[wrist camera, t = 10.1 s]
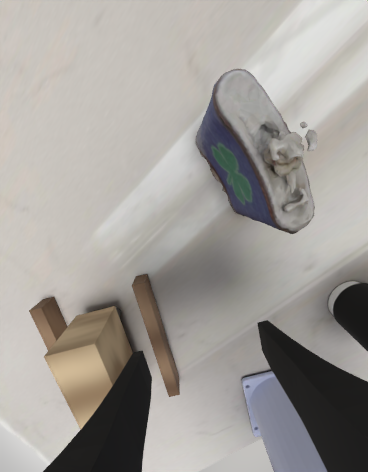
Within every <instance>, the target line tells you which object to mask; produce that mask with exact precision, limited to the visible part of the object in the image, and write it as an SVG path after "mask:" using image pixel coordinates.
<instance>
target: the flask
mask: <svg viewBox="0 0 368 472" xmlns="http://www.w3.org/2000/svg"><path fill="white" fill-rule="evenodd" d="M300 126H301V127H302V128H305V127H307V124H306V123H305V122H302V123H300ZM305 138H306V139H307V142H308V145H309V146H308V151H313V150H314V149H315V148H316V147H317V134H316V132H315V131H313V130H308V132H307V134H306V136H305ZM301 142H302V137H301V136H300V135H298V134H297V133H296V132H292V133H291V132H290V131H289V130H288V127H287V125H286V123H285V122H284V121H283V118H282V116H281V114H280V113H279V111H278V110H277V109H276V107H275V106H274V104H273V103H272V102H271V100H270V98H269V96H268V95H267V93H266V92H265V90H264V89H263V87H262V86H261V85H260V84H259V83H258V82H257V80H256V79H255V77H254V76H253V75H252V74H251V73H249V72H248V71H246V70H243V69H234V70H231V71H229V72H226V73H224V74H223V75H222V76H221V77H220V79H219V80H218V81H217V82H216V84H215V85H214V88H213V92H212V97H211V101H210V103H209V106H208V109H207V111H206V114H205V116H204V118H203V121H202V124H201V126H200V128H199V130H198V132H197V135H196V143H197V146H198V149H199V150H200V154H201V155H202V157H205V159H206V160H207V162H208V164H209V166H210V168H211V169H210V170H211V171H212V173H213V176H214V177H215V179H216V180H217V181H219V182H220V183H222V185H223V191H224V192H226V193H227V195H228V199H229V200H228V201H229V202H230V204H231V206H232V208H233V210H234V212H236V213H238V214H241V215H243V216H247V217H249V218H251V219H253V220H256V221H260V222H262V223H265V224H267V225H270V226H272V227H274V228H277V229H279V230H282V231H285V232H288V233H290V234H294V233H296V232H298V231H299V230H301V229H302V228H304V227H305V226H307V225H308V224H309V222H310V221H311V219H312V218H313V216H314V208H315V206H314V201H313V198H312V195H311V191H310V185H309V180H308V176H307V173H306V169H305V166H304V163H303V160H302V159H303V151H304V145H302V144H301Z"/></svg>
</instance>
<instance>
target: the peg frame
mask: <svg viewBox="0 0 368 472" xmlns="http://www.w3.org/2000/svg"><path fill="white" fill-rule="evenodd" d="M132 287H133V290H134V293H135V296H136V299H137V302H138V305H139V308H140V311H141V314H142V317H143V320H144V323H145V326H146V329H147V332H148V335H149V338H150V341H151V344H152V347H153V350H154V353H155V356H156V359H157V362H158V365H159V368H160V371H161V374H162V377H163V380H164V383H165V386H166V389H167V392H168V395H169V397H171V396H175V395H180V392H179V376H178V372H177V369H176V366H175V363H174V359H173V356H172V353H171V350H170V346H169V343H168V340H167V337H166V334H165V330H164V327H163V324H162V321H161V317H160V314H159V311H158V308H157V304H156V301H155V298H154V295H153V291H152V288H151V285H150V282H149V278H148V275H147V274H145V275H140V276H136V278H135V280H134V282H133V284H132ZM116 310H117V313H118V315H119V317H120V315H121V311H120V309H118V308H116ZM29 312H30V314H31V316H32V318H33V320H34V322H35V324H36V326H37V328H38V330H39V332H40V334H41V337H42V339H43V341H44V343H45V345H46V347H47V349H48V351H49V350H50V348H51V347H52V346H53V345H54V343H55V342H56V341H57V340H58V338H59V337H60V336H61V335H62V333H63V332H64V331H65V330H66V328H67V326H66V323H65V321H64V319H63V317H62V314H61V312H60V310H59V307H58V305H57V303H56V301H55V298H54V297H51V298H47V299H43V300H42V301H40V302H39V303H38V304H37V305H36V306H34V307H33V308H32V309H31V310H29Z"/></svg>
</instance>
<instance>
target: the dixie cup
mask: <svg viewBox="0 0 368 472" xmlns="http://www.w3.org/2000/svg"><path fill="white" fill-rule="evenodd" d="M328 307H329V310H330V312H331V313H332V314H333V315H334V317H335V319H336V321H337V322H338V323H339V324H340V325H341V326H342V327H343V328H344V329H345V330H346V331H347V332H348V333H349V334H350V335H351V336H352V337H353V338H354V339H356V340H357V341H358V342H359V343H360V344H361V345H362V346H363V347H364V348H365V349H366V350H367V351H368V284H367V283H359V282H356V281H350V282H345V283H343V284H341V285H339V286H338V287H337V288H335V289H334V291H333V292H332V293H331V295H330V297H329V301H328Z"/></svg>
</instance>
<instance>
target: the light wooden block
mask: <svg viewBox="0 0 368 472" xmlns="http://www.w3.org/2000/svg"><path fill="white" fill-rule="evenodd" d="M132 354H133V352H132V350H131V347H130V344H129V342H128V339H127V337H126V334H125V331H124V329H123V326H122V323H121V321H120V318H119V315H118V313H117V310H116V307H115V306H113V307H109V308H105V309H101V310H97V311H93V312H90V313H86V314H82V315H78V316H76V317H75V318H74V320H73V321H72V322H71V323H70V325H69V326H68V327H67V328H66V330H65V331H64V332H63V333H62V335H61V336H60V337H59V338H58V340H57V341H56V342H55V343H54V345H53V346H52V347H51V348H50V350H49V351H48V352H47V354H46V355H45V356H44V358H45V360H46V362H47V364H48V366H49V368H50V370H51V372H52V374H53V376H54V378H55V380H56V382H57V384H58V386H59V388H60V390H61V392H62V394H63V396H64V398H65V399H66V401H67V403H68V405H69V407H70V409H71V411H72V413H73V415H74V417H75V419H76V421H77V423H78V425H79V427H80V429H82V428H83V426H84V425H85V424H86V423H87V421H88V420H89V419H90V417H91V416H92V415H93V414H94V412H95V411H96V409H97V408H98V407H99V405H100V404H101V402H102V401H103V399H104V398H105V397H106V395H107V394H108V392H109V391H110V389H111V388H112V386H113V384H114V383H115V381H116V380H117V378H118V376H119V375H120V373H121V372H122V370H123V368H124V367H125V365H126V363H127V362H128V360H129V358H130V357H131V355H132Z"/></svg>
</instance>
